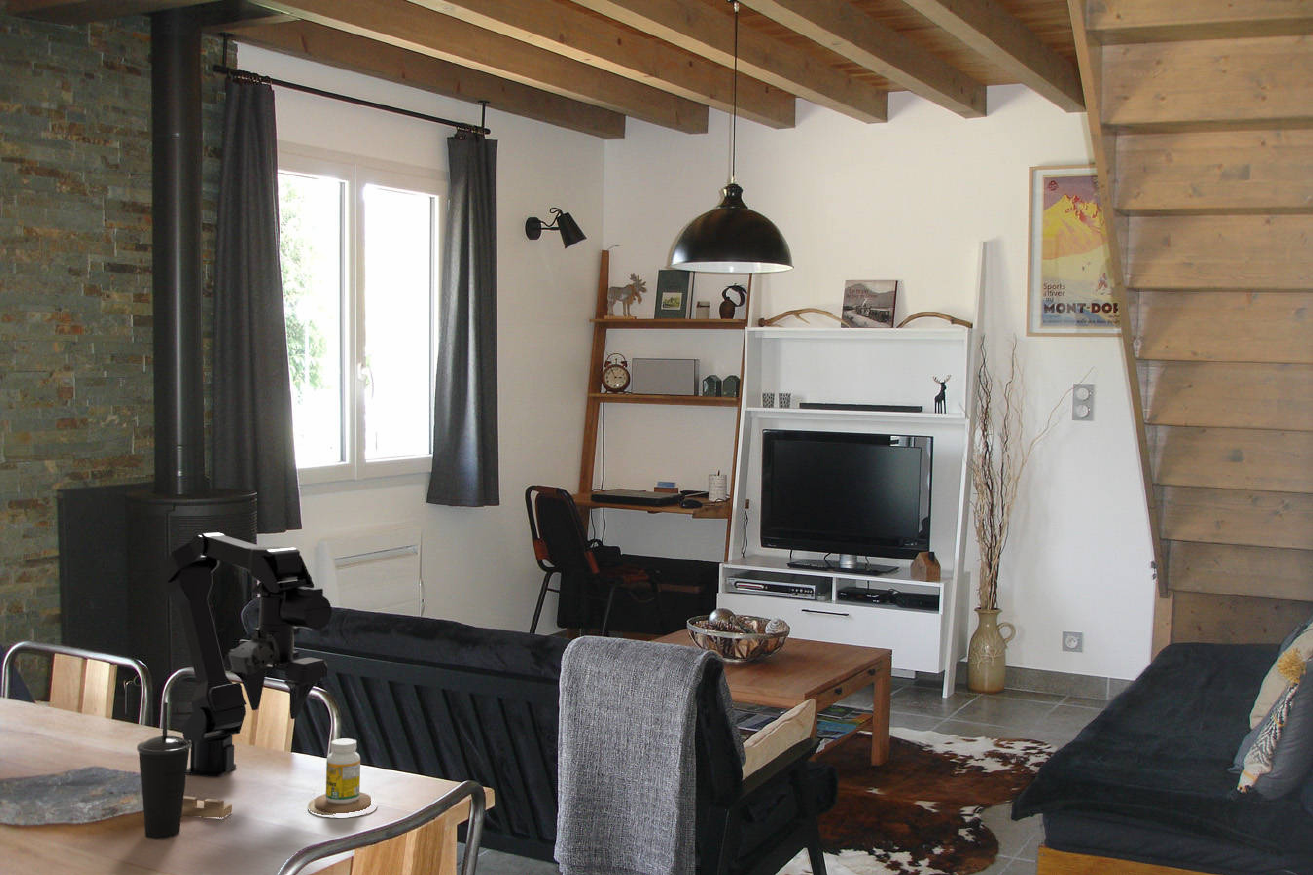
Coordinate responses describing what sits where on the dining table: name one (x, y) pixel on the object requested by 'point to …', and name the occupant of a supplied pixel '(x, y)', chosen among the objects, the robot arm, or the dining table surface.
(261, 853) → the dining table surface
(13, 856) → the dining table surface
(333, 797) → the supplement bottle
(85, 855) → the dining table surface
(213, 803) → the notched board
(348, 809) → the base
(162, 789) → the drinking cup
